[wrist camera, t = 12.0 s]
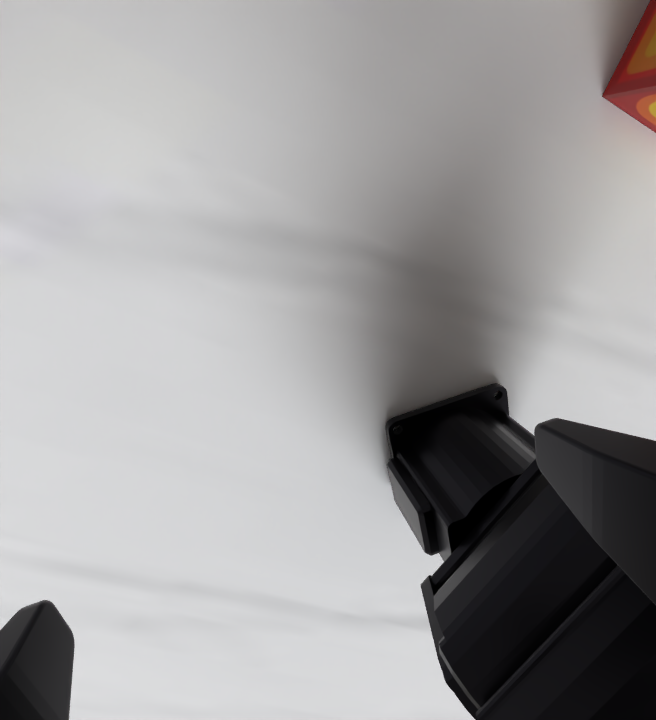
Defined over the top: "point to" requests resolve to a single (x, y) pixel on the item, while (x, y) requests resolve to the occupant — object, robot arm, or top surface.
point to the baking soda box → (637, 73)
